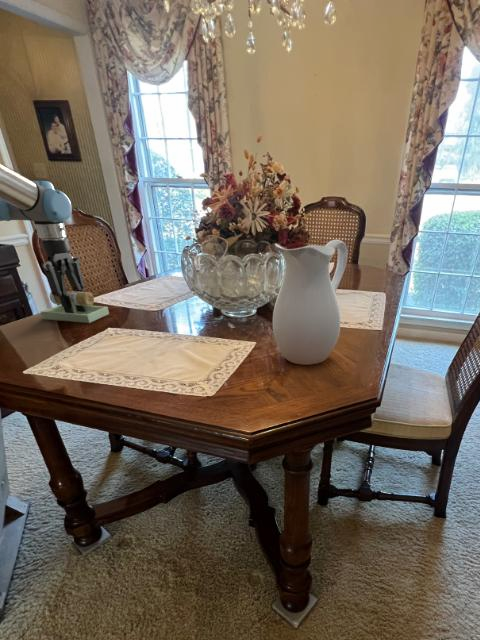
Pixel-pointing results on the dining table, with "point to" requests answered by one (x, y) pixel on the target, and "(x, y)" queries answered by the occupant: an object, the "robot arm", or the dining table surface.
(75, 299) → the sprinkles bottle
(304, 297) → the pitcher
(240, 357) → the dining table surface
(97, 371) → the dining table surface
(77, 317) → the tray
